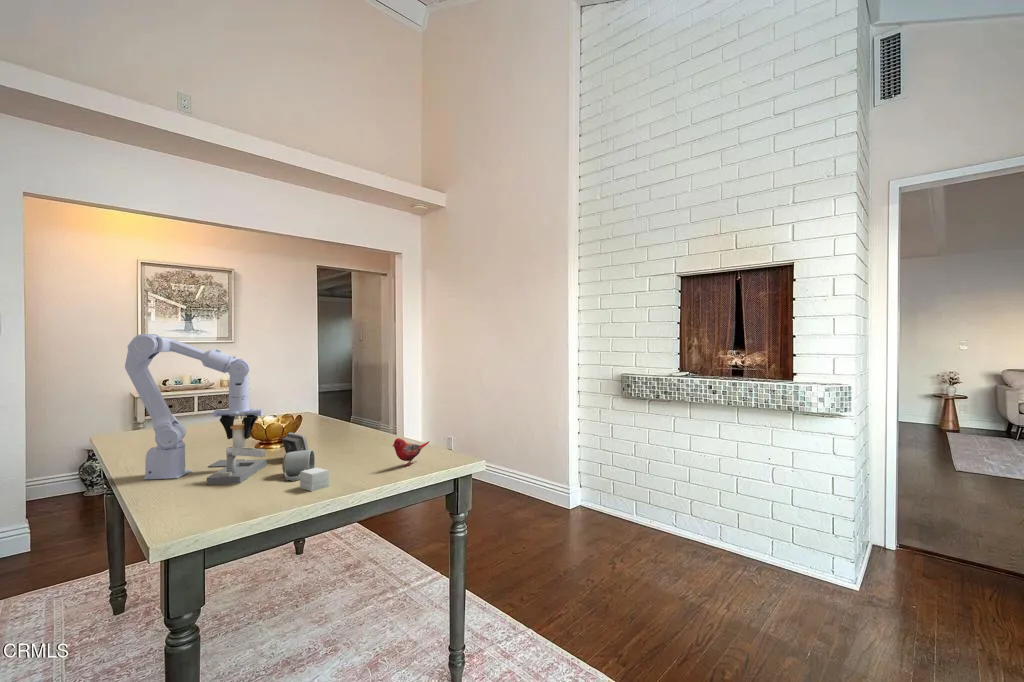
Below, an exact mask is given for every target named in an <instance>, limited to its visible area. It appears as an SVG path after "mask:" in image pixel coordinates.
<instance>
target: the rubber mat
mask: <svg viewBox="0 0 1024 682" xmlns="http://www.w3.org/2000/svg"><path fill="white" fill-rule="evenodd" d="M237 460H246V459H241V458H240V459H236V461H237ZM225 467H227V459H218V460H217V461H214V462H213V463H212V464H210V465H207V468H225Z"/></svg>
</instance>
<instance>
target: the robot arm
mask: <svg viewBox="0 0 1024 682" xmlns="http://www.w3.org/2000/svg"><path fill="white" fill-rule="evenodd" d="M165 352H166V353H169V352H171V353H176V354H180V355H182V356H186V357H189V358H192V359H196V360H199V361H201V363H202V366H203V367H206V368H208V369H211V370H215V371H217V372H221V373H223V374H226V373H228V375H229V382H228V409H215V410H213V417H214V418H217V417H220V418H219V422H220V423H221V425H222V426H223V429H224V431H225V434H226V438H227V440H231V439H233V434H232V429H230V426H232V425H234V423H235V417H242V421H243V424H244V427H245V440H247V439H249V438H250V437H251V433H252V429H253V427H254V425H255V423H256V421H257V419H258V417H262V416H264V414H265V412H264V409H258V408H257V409H254V408H250V382H249V380H250V377H249V372H250V369H251V367H250V364H249V362H248V361H246V360H244V359H243V358H238V357H237V356H236V355H233V356H231V355H229V354H227V353H223V352H222V350H221V349H218V348H217V349H216V350H215V349H209V350H206V351H205V350H203V349H200V348H198V347H195V346H193V345H190V344H187V343H185V342H183V341H179V340H177V339H174V338H170V337H168V336H167V337H166V336H160V335H158V334H154V333H150V334H149V333H141V334H138V335H135V336H134V337H133V338H132V339H131V341H130V342H129V343H128V345H127V353H126V359H125V363H124V369H125V371H126V373H127V375H128V376H129V378H130V380H131V382H132V384H133V386H134V388H135V390H136V392H137V394H138V396H139V398H140V399H141V402H142V404H143V406H144V407H145V410H146V411H147V413H148V415H149V417H150V419H151V421H152V428H153V431H154V434H155V435H154V436H155V437H154V441H155V443H156V446H153V447H150V448H149V449H148V450H147V452H146V455H145V462H144V463H145V472H144V473H145V476H144V477H143V480H163V479H164V480H165V479H167V480H168V479H170V480H171V479H179V478H181V477H183V476H184V475H187V474H189V473H191V472H192V469H186V443H185V442H184V441H183V439H184V438H185V436H186V433H187V430H186V427H185V425H183V424H182V423H180V422H179V421H178V419H177V417H176V416H175V415H174V414H173V413H172V411H171V410H170V408H169V406H168V404H167V402H166V401H165V399H164V398H165V397H164V396H163V395H162V393H161V390H160V389H159V387H158V385H157V382H156V381H155V378H154V377H153V375H152V373H151V371H150V369H149V365H150V364H151V362H152V361H153V359H154V358H155V357H156V356H157V355H158V354H159V353H165Z"/></svg>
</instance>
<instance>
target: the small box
mask: <svg viewBox="0 0 1024 682" xmlns="http://www.w3.org/2000/svg"><path fill="white" fill-rule="evenodd" d="M299 480H300V481H299V484H300V485H299V489H302V490H305V489H306V491H309V492H315V490H316V491H319V490H322V489H325V487H326V488H328V487H330V484H329V483H330V469H329V470H328V469H325V468H320V467H315V468H313V469H309V470H304V471H301V472H300V479H299ZM321 488H322V489H321ZM318 489H319V490H318Z"/></svg>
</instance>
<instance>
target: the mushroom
mask: <svg viewBox="0 0 1024 682" xmlns="http://www.w3.org/2000/svg"><path fill="white" fill-rule="evenodd" d="M230 429H232V434H233V438H232V447H237V448H246V445H247V443H246V440H247V439H245V427H244V423H239V424H238V423H237V424H233V425H232V426H230Z"/></svg>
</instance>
